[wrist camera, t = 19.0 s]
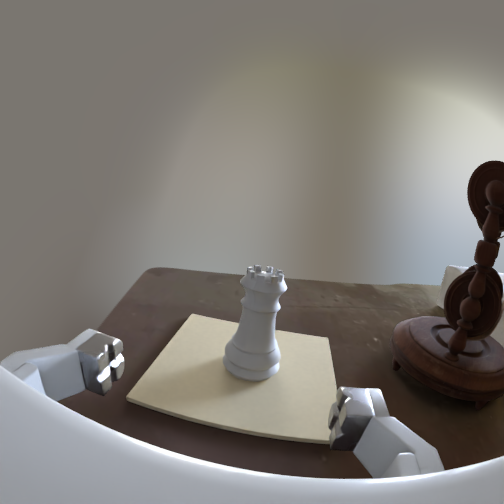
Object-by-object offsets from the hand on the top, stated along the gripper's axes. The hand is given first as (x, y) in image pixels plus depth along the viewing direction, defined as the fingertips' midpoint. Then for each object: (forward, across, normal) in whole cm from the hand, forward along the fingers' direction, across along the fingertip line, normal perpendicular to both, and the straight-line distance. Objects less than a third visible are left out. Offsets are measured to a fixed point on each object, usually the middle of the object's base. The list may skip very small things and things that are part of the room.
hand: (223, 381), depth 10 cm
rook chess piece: (+11, 0, +7) cm, 13 cm away
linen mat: (+11, 0, +7) cm, 13 cm away
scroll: (+14, -20, +8) cm, 26 cm away
